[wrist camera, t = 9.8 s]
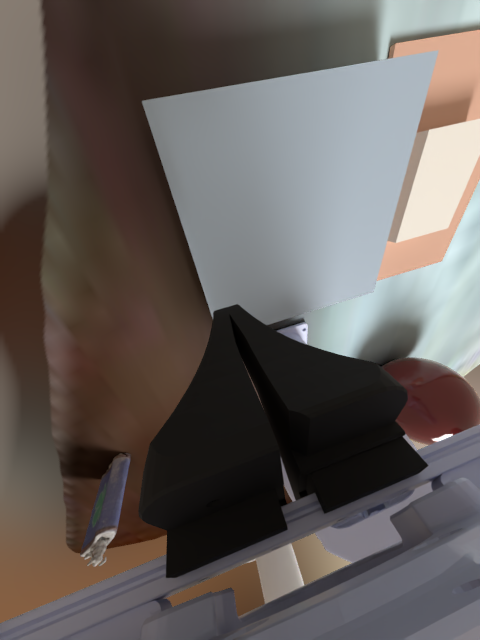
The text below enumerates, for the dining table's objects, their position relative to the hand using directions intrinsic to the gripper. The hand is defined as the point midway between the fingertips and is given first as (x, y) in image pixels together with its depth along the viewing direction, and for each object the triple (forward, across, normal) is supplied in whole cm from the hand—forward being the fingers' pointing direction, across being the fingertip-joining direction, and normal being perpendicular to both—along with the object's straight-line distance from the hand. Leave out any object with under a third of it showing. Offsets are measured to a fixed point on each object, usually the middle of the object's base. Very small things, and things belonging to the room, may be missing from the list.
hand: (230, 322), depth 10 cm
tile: (+7, -21, -2) cm, 22 cm away
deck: (+9, -7, -2) cm, 12 cm away
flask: (+10, +24, +29) cm, 39 cm away
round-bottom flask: (+10, -27, +28) cm, 40 cm away
